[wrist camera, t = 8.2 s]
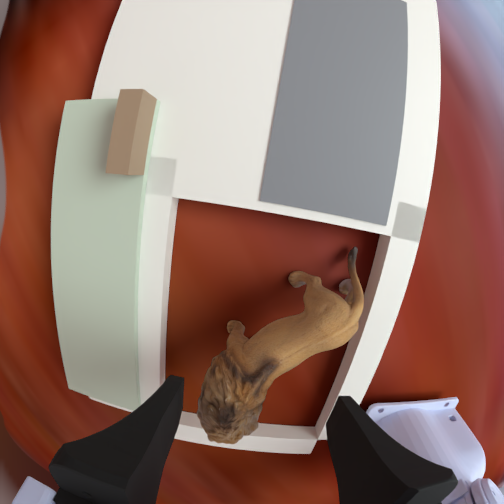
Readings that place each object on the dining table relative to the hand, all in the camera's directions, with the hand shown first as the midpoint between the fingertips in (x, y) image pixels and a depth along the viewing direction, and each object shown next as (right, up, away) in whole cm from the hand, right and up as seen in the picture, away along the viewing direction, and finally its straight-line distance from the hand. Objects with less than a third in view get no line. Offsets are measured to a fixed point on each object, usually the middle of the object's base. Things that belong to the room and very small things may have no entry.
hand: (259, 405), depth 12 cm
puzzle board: (-1, +10, +4) cm, 10 cm away
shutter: (-10, +6, +4) cm, 12 cm away
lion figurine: (+1, +3, +6) cm, 7 cm away
